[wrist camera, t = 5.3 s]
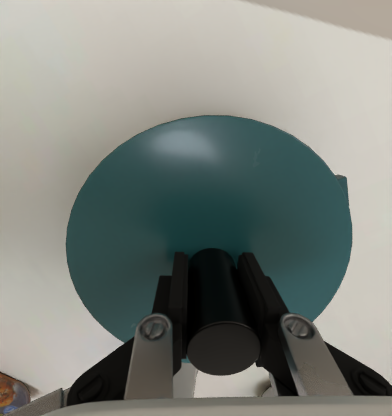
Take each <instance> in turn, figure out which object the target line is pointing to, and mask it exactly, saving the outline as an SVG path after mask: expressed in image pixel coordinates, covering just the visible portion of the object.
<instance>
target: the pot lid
mask: <svg viewBox="0 0 392 416" xmlns="http://www.w3.org/2000/svg"><path fill="white" fill-rule="evenodd" d="M351 247H352V222H351V216H350V209H349V206H348V203H347V200H346V197H345V194H344V192H343V190H342V188H341V186H340V184H339V182H338V180H337V178H336V177H335V175H334V174H333V172H332V171H331V170H330V168H329V167H328V166H327V164H326V163H325V162H324V161H323V160H322V159H321V158H320V157H319V156H318V155H317V154H316V153H315V152H314V151H313V150H312V149H311V148H310V147H309V146H307V145H306V144H304V143H303V142H301V141H300V140H298V139H297V138H296V137H294V136H293V135H291V134H289V133H287V132H285V131H282V130H280V129H278V128H276V127H274V126H272V125H269V124H265V123H262V122H259V121H256V120H253V119H247V118H241V117H234V116H224V115H203V116H196V117H188V118H181V119H178V120H174V121H171V122H167V123H163V124H160V125H157V126H155V127H153V128H150V129H148V130H146V131H144V132H141V133H139V134H137V135H136V136H134V137H132V138H131V139H129V140H128V141H126V142H125V143H123V144H121V145H120V146H118V147H117V148H116V149H115V150H114V151H113V152H111V153H110V154H109V155H108V156H107V157H106V158H104V159H103V160H102V161H101V162H100V164H99V165H98V166H97V167H96V168H95V170H94V171H93V172H92V173H91V174H90V175H89V177H88V178H87V180H86V182H85V183H84V185H83V186H82V188H81V190H80V191H79V193H78V195H77V198H76V200H75V203H74V205H73V207H72V210H71V214H70V218H69V222H68V226H67V236H66V254H67V263H68V267H69V272H70V276H71V279H72V281H73V284H74V286H75V289H76V291H77V293H78V295H79V297H80V299H81V300H82V302H83V304H84V305H85V307H86V308H87V309H88V311H89V312H90V313H91V315H92V316H93V317H94V318H95V319H96V320H97V321H98V322H99V323H100V324H101V325H102V326H103V327H104V328H105V329H106V330H107V331H109V332H110V333H111V334H112V335H114V336H115V337H116V338H118V339H119V340H121V341H122V342H124V343H126V342H127V341H128V340H130V339H131V338H132V337H134V336H135V332H136V327H137V324H138V323H139V321H140V320H141V319H142V318H143V317H145V316H146V315H149V314H152V309H153V304H154V299H155V295H156V290H157V285H158V280H159V276H160V275H166V276H172V270H173V262H174V254H175V252H184V254H188V302H187V335H186V353H187V357H186V359H182V363H191V364H192V365H193V366H194V367H195V368H196V369H198V370H200V371H202V372H204V373H207V374H210V375H218V376H223V375H231V374H235V373H239V372H241V371H243V370H245V369H247V368H248V367H250V366H251V365H252V364H253V363H254V362H255V361H256V360H257V359H258V357H259V355H260V352H261V347H262V346H261V339H260V336H259V333H258V330H257V327H256V324H255V322H254V319H253V316H252V313H251V310H250V307H249V304H248V301H247V298H246V295H245V292H244V289H243V287H242V284H241V281H240V278H239V275H238V272H237V265H238V256H239V255H242V253H243V252H252V253H253V254H254V256H255V258H256V260H257V261H258V263H259V265H260V267H261V269H262V271H263V273H264V275H265V276H269V277H270V278H271V279H272V281H273V283H274V285H275V287H276V288H277V290H278V292H279V294H280V296H281V297H282V299H283V301H284V303H285V305H286V307H287V308H288V310H289V312H290V313H297V314H300V315H302V316H304V317H306V318H308V319H309V320H310V321H311V322H313V321H314V320H315V319H316V318H317V317H318V316H319V315H320V314H321V313H322V311H323V310H324V309H325V308H326V306H327V305H328V304H329V303H330V301H331V300H332V298H333V297H334V295H335V293H336V292H337V290H338V288H339V286H340V284H341V282H342V280H343V278H344V275H345V273H346V270H347V266H348V263H349V260H350V254H351Z"/></svg>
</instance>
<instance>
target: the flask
mask: <svg viewBox="0 0 392 416" xmlns="http://www.w3.org/2000/svg"><path fill="white" fill-rule="evenodd" d="M197 373H198V369H196V368H195V367H194V366H193V365H192V364H191V363H182V366H181V369H180V370H179V371H178V372H177V373H176V374H175V375H174V377H173V398H193V396H194V389H195V383H196V377H197Z"/></svg>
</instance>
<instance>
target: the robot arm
mask: <svg viewBox="0 0 392 416" xmlns="http://www.w3.org/2000/svg"><path fill="white" fill-rule="evenodd" d="M237 272H238V275H239V278H240V281H241V284H242V287H243V289H244V292H245V295H246V298H247V301H248V304H249V307H250V310H251V313H252V316H253V319H254V322H255V324H256V327H257V330H258V333H259V336H260V339H261V346H262V347H261V352H260V355H259V357H258V359H257V360H256V361H255V363H256V366H257V367H264V368H265V369H266V370H267V371H268V372H269V378H270V382H271V386H272V390H273V394H274V397H218V398H173V377H174V375H175V374H176V373H177V372H178V371H179V370H180V369H181V366H182V359H186V357H187V353H186V335H187V302H188V254H184V252H175V254H174V262H173V270H172V276H166V275H160V276H159V280H158V285H157V290H156V295H155V299H154V304H153V309H152V314H149V315H146V316H145V317H143V318H142V319H141V320H140V321H139V323H138V324H137V327H136V332H135V336H134V337H132V338H131V339H130V340H128V341H127V342H126V343H124V344H123V345H122V346H120V347H119V348H117V349H116V350H115V351H113V352H112V353H111V354H109V355H108V356H107V357H105V358H104V359H102V360H101V361H100V362H98V363H97V364H96V365H94V366H93V367H92V368H90V369H89V370H87V371H86V372H85V373H83V374H82V375H81V376H80V377H79V378H78V379H77V380H76V381H75V382H74V384H73V385H72V386H71V387H70V388H68V389H66V390H64V391H63V390H62V388H60V389H58V390H56V391H54V392H51V393H49V394H47V395H45V396H43V397H41V398H38V399H36V400H34V401H32V402H30V403H28V404H25V405H23V406H21V407H19V408H17V409H15V410H12V411H10V412H8V413H6V414H4V415H1V416H392V386H391V385H390V384H389V382H388V381H387V380H386V379H384V378H383V377H382V376H381V375H380V374H378V373H377V372H375V371H374V370H372V369H371V368H369V367H367V366H366V365H364V364H362V363H361V362H359V361H357V360H355V359H354V358H352V357H350V356H349V355H347V354H345V353H344V352H342V351H340V350H338V349H337V348H335V347H333V346H332V345H330V344H328V343H327V342H325V341H323V339H322V337H321V335H320V333H319V332H318V330H317V328H316V327H315V325H314V324H313V323H312V322H311V321H310V320H309V319H308V318H306V317H304V316H302V315H300V314H297V313H290V312H289V310H288V308H287V307H286V305H285V303H284V301H283V299H282V297H281V296H280V294H279V292H278V290H277V288H276V287H275V285H274V283H273V281H272V279H271V278H270V277H269V276H265V275H264V273H263V271H262V269H261V267H260V265H259V263H258V261H257V260H256V258H255V256H254V254H253V253H252V252H243V253H242V255H239V256H238V265H237Z"/></svg>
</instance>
